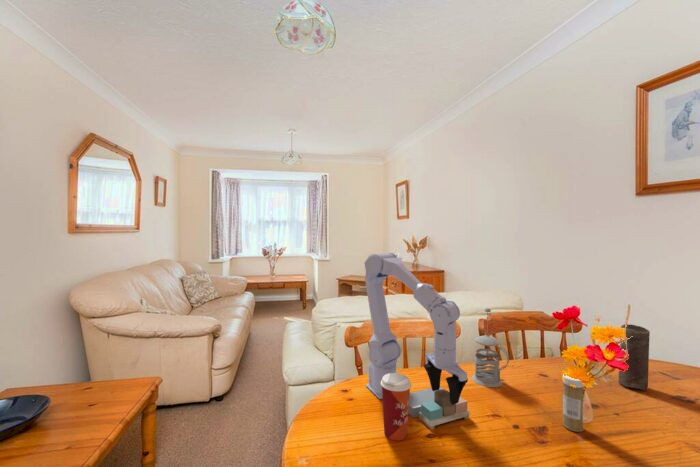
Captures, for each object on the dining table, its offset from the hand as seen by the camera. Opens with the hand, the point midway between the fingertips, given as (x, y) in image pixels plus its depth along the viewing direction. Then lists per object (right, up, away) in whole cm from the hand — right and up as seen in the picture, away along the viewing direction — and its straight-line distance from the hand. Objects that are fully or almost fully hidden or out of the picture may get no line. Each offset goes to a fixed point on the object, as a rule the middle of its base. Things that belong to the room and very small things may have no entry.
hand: (444, 396), depth 88 cm
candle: (+69, -7, +19) cm, 72 cm away
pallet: (0, -6, 0) cm, 6 cm away
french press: (+22, -6, +23) cm, 32 cm away
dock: (-3, -6, +7) cm, 10 cm away
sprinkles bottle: (+33, -7, -3) cm, 34 cm away
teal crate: (-4, -4, -2) cm, 6 cm away
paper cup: (-14, -6, -7) cm, 17 cm away
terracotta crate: (+4, -4, +2) cm, 6 cm away
